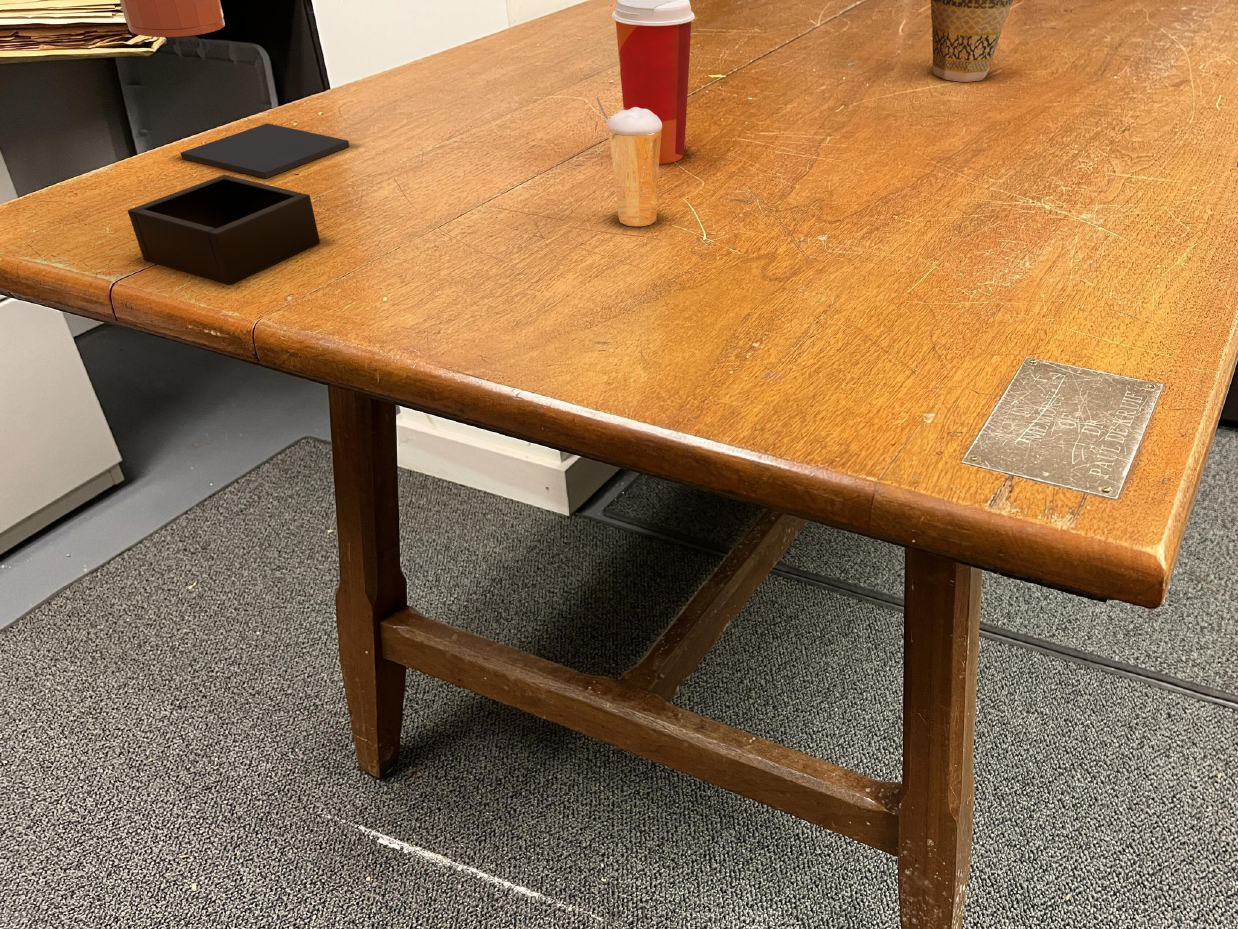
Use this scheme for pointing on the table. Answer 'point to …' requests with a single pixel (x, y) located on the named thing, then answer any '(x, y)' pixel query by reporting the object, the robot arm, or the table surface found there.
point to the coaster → (265, 150)
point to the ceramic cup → (966, 36)
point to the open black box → (225, 228)
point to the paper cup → (656, 64)
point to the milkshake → (635, 163)
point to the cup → (172, 17)
